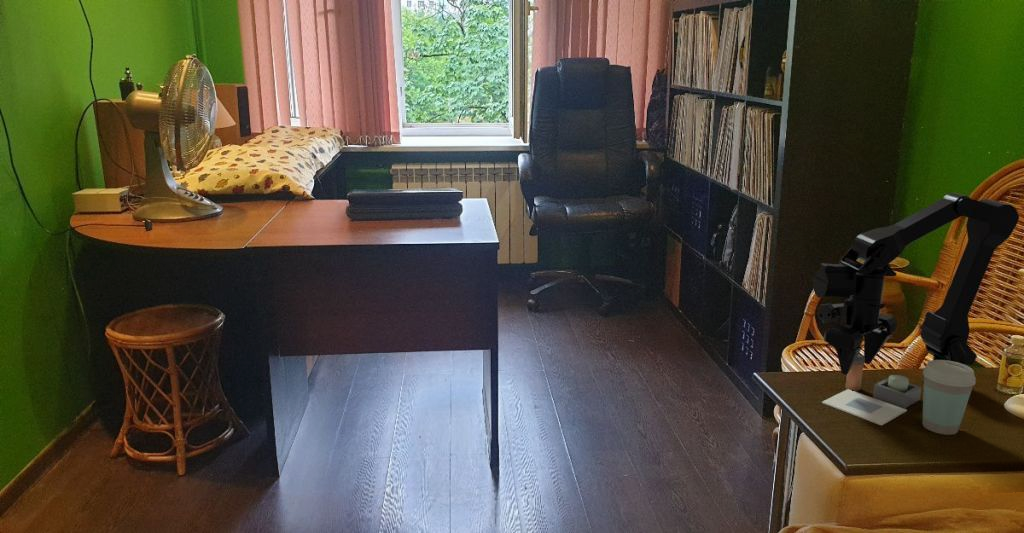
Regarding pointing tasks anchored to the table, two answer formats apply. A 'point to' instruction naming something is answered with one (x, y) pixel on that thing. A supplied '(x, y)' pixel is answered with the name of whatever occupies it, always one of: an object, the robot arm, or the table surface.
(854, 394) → the paper
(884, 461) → the table surface
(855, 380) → the marker
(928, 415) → the coffee cup
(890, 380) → the button
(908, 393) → the button housing
